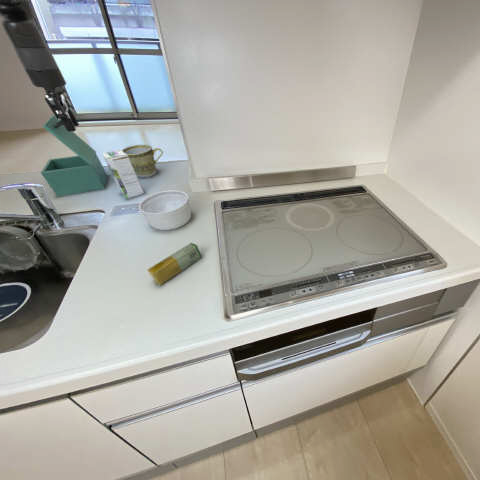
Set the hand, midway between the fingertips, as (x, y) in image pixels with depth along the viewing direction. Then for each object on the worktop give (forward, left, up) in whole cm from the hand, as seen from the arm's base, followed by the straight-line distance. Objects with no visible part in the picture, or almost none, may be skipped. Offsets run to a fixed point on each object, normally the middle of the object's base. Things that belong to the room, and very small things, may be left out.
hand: (73, 128), depth 85 cm
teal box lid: (-3, 0, -4) cm, 5 cm away
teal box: (-6, 0, -20) cm, 20 cm away
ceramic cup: (+16, +2, -20) cm, 26 cm away
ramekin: (+21, -36, -20) cm, 47 cm away
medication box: (+21, -60, -20) cm, 66 cm away
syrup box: (+10, -13, -20) cm, 26 cm away
